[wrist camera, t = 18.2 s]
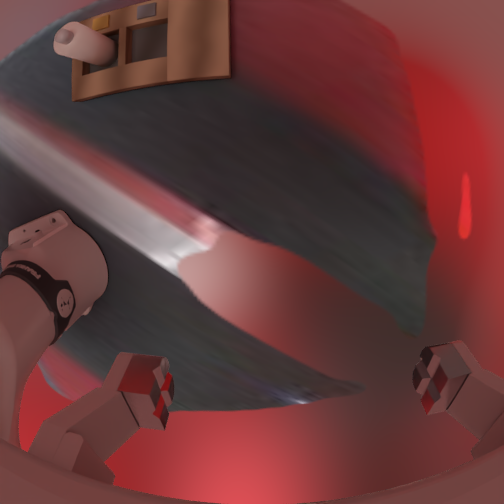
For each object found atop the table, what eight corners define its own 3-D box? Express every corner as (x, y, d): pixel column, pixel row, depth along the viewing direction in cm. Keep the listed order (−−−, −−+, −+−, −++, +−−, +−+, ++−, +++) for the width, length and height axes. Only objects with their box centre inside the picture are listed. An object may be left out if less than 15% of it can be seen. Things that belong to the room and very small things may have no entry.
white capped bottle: (112, 69, 30) (65, 55, 20) (90, 63, 29) (40, 50, 19) (125, 43, 29) (82, 20, 18) (102, 38, 28) (56, 17, 17)
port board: (81, 101, 32) (70, 101, 30) (83, 27, 27) (73, 23, 25) (231, 78, 32) (228, 74, 29) (230, -3, 27) (227, -12, 24)
